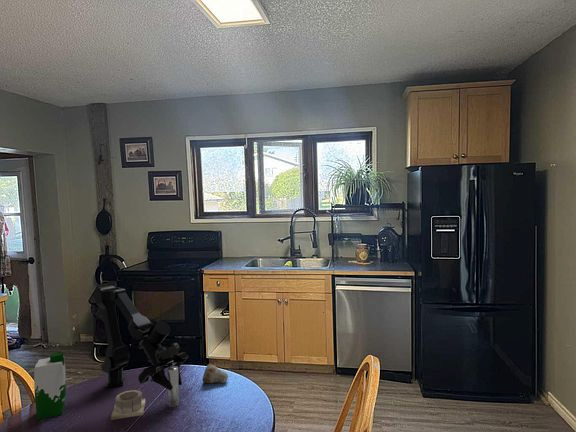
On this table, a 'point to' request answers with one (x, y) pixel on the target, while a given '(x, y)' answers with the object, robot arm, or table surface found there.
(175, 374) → the grey glossy cylinder
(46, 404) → the milk carton
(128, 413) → the cup bracket
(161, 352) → the robot arm
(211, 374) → the flower patterned bottle
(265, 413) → the table surface
